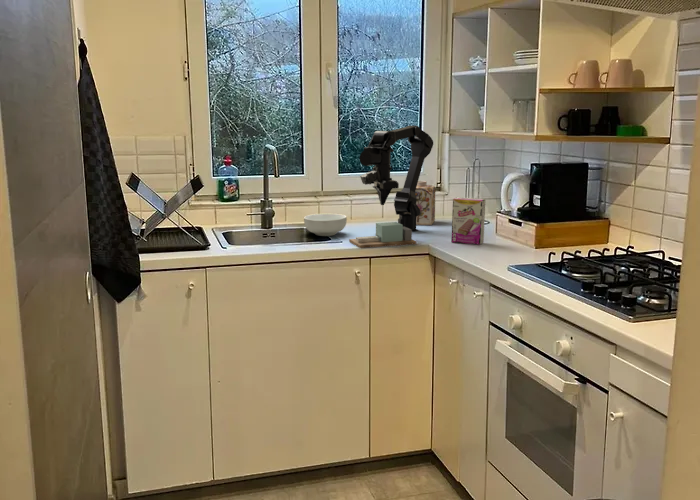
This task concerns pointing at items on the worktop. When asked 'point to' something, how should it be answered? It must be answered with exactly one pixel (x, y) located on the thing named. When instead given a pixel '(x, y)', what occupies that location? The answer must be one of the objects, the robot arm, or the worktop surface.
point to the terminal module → (389, 231)
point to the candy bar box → (468, 220)
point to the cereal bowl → (325, 223)
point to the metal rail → (369, 239)
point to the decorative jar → (425, 203)
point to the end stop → (407, 234)
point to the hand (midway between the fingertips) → (382, 204)
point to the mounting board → (381, 243)
